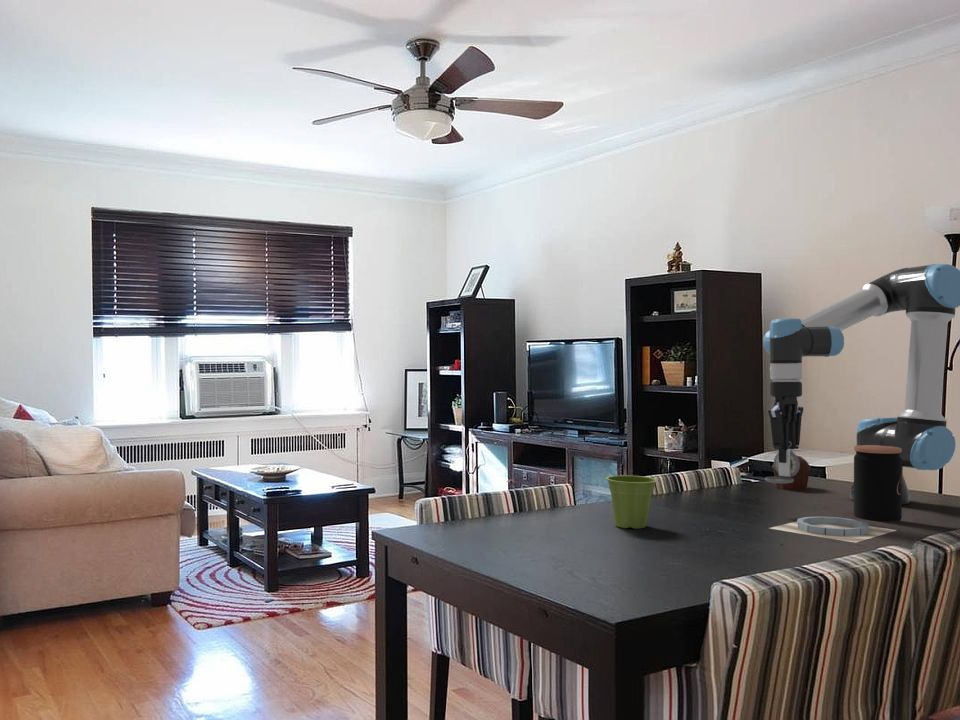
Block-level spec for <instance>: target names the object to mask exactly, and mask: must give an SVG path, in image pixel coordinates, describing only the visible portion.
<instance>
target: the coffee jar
mask: <svg viewBox="0 0 960 720" xmlns="http://www.w3.org/2000/svg"><path fill="white" fill-rule="evenodd" d="M853 450H854V452H855V455H854V456H853V482H854V500H853V516H854V518H857V519H861V520H867V521H875V522H897V521H898V522H900V521H901V520H902V518H903V515H902V513H903V504H902V459H901V457H900V454H901V452H902V449H901V448H898V447H891V446H876V445H860V446H857V445H854V447H853Z"/></svg>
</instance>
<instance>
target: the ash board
mask: <svg viewBox="0 0 960 720" xmlns="http://www.w3.org/2000/svg"><path fill="white" fill-rule="evenodd" d="M811 525H815V526H822V527H831V528H854V527H850V526H844V525H835V524H811ZM768 529H770V530H776V531H783V532H788V533H794V534H800V535H807V536H812V537H817V538H823V539H824V538H825V539H829V540H838V541H843V542H848V543H849V542H850V543H855V544H857V543H860V542H863V541H866V540H870V539H873V538H876V537H879V536H882V535H887V534H889V533H894V532H897V529H890V528H883V527H878V526H872V525H871V526H870V525H869V533H868V534H864V535H860V536H833V535H826V534H825V535H822V534H816V533H810V532H806V531H803V530H800V529H798V527H797V521H792V522H788V523H785V524H781V525H780V524H779V525H776V526H772V527H768Z"/></svg>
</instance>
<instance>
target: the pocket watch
mask: <svg viewBox="0 0 960 720" xmlns="http://www.w3.org/2000/svg"><path fill="white" fill-rule="evenodd" d="M788 442H790V441H788ZM790 444H791V445H792V443H791V442H790ZM791 445H790V446H791ZM790 446H788V448H789V447H790ZM796 455H797V454H796V453H795V452H794V453H793V452H791V451H790V466H791V465H792V466H793V467H790V476H782V477H775V476H766V477H765V478H764V479H765V482H768V483H770V484H771V483H772V484H776V483H781V484H782V483H783V484H784V483H792V482H794V479H793V478H790V477H792V476H794V475H796V474H797V472H798V471H799V468H800V462H799V459H798V457H797V456H798V455H797V456H796ZM773 464H774V467H775V470H776V471H777V473H778V474H779V452H778V453H776V454H775V456H774V459H773ZM791 468H792V469H791Z"/></svg>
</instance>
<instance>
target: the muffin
mask: <svg viewBox="0 0 960 720" xmlns="http://www.w3.org/2000/svg"><path fill="white" fill-rule="evenodd" d="M795 455H796V456H797V457H798V459H799V462H800V468H799V471H798V472H797V474H796V475H794V476H792V477H790V478H793V479H794V482H792V483H784V484H783V483H782V484H781V483H775V487H776V489H778V490H784V491H804V490H805V491H806V490H807V488H808V482H809V476H810V471H811V469H812V467H811V466H810V464H809V462H808V461H807V460H806V459H804V458H803V457H802V456H800V455H797V454H795ZM771 467H772V469H773V475H774V476H773V477H782V476H779V474H778V473H777V471H776V470H775V467H774V463H772V465H771Z"/></svg>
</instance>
